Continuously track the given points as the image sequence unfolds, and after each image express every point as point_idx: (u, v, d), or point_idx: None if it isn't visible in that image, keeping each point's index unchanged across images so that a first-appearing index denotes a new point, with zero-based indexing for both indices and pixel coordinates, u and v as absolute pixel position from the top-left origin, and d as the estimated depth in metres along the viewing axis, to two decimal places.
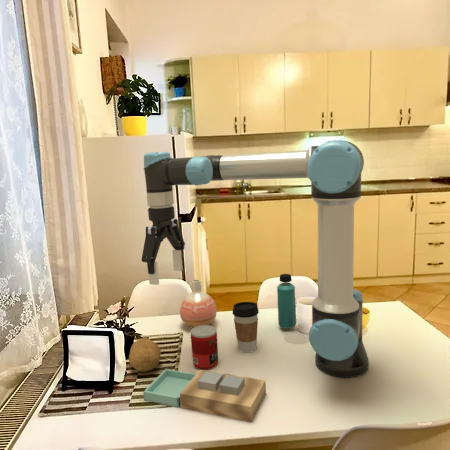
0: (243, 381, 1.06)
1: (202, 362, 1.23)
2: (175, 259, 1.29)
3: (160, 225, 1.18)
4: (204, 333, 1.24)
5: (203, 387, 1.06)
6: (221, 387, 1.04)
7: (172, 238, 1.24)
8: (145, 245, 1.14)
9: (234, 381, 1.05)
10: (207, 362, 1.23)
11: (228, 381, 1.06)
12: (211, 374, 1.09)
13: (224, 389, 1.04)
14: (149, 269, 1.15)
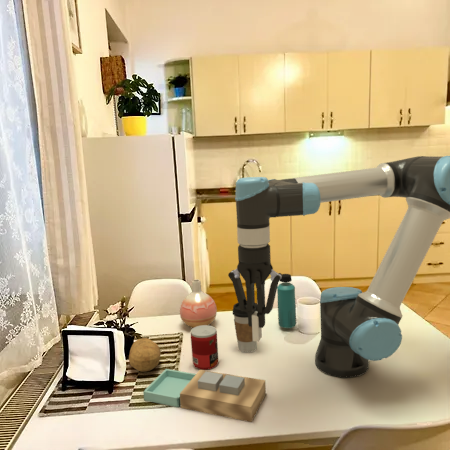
0: (243, 381, 1.06)
1: (202, 362, 1.23)
2: None
3: (239, 265, 0.98)
4: (204, 333, 1.24)
5: (203, 387, 1.06)
6: (221, 387, 1.04)
7: None
8: None
9: (234, 381, 1.05)
10: (207, 362, 1.23)
11: (228, 381, 1.06)
12: (211, 374, 1.09)
13: (224, 389, 1.04)
14: None
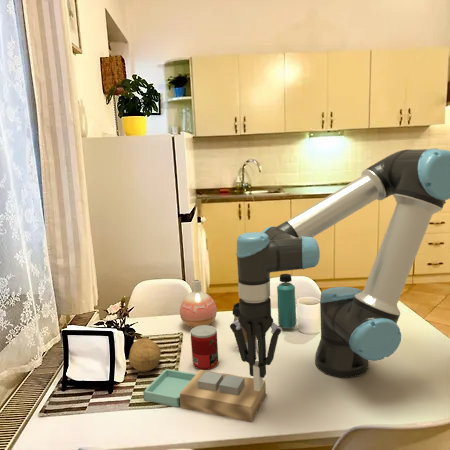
0: (243, 381, 1.06)
1: (202, 362, 1.23)
2: None
3: (241, 317, 1.00)
4: (204, 333, 1.24)
5: (203, 387, 1.06)
6: (221, 387, 1.04)
7: None
8: None
9: (234, 381, 1.05)
10: (207, 362, 1.23)
11: (228, 381, 1.06)
12: (211, 374, 1.09)
13: (224, 389, 1.04)
14: None
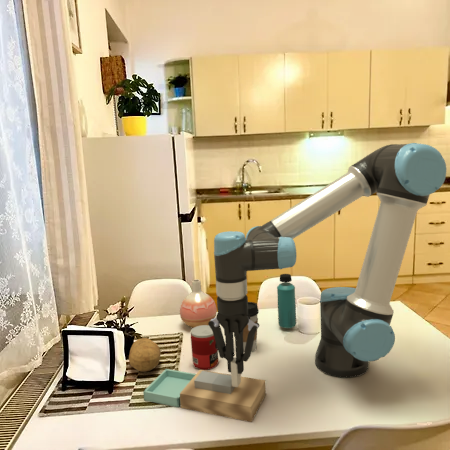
0: None
1: (202, 362, 1.23)
2: None
3: (219, 315, 1.02)
4: (204, 333, 1.24)
5: (200, 386, 1.07)
6: (214, 386, 1.05)
7: None
8: None
9: (227, 380, 1.06)
10: (207, 362, 1.23)
11: (221, 380, 1.06)
12: (208, 373, 1.10)
13: (217, 388, 1.05)
14: None
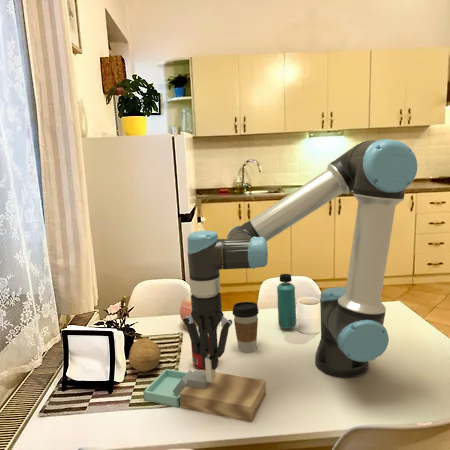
0: None
1: None
2: None
3: (193, 312, 1.05)
4: None
5: (179, 391, 1.09)
6: (189, 381, 1.08)
7: None
8: None
9: (202, 376, 1.09)
10: None
11: (196, 376, 1.09)
12: None
13: (192, 383, 1.07)
14: None
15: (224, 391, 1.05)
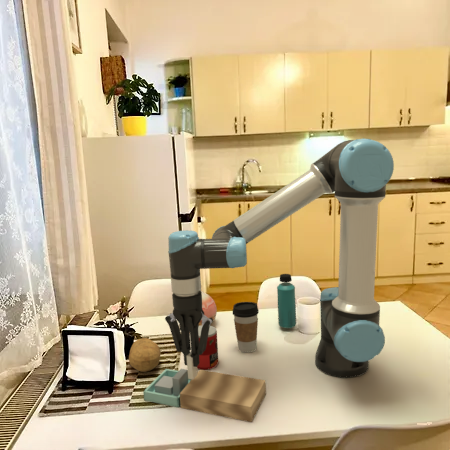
0: (181, 370, 1.13)
1: (202, 362, 1.23)
2: None
3: (174, 310, 1.07)
4: None
5: (165, 389, 1.11)
6: (175, 393, 1.10)
7: None
8: None
9: None
10: (207, 362, 1.23)
11: None
12: None
13: (176, 391, 1.10)
14: None
15: (224, 391, 1.05)
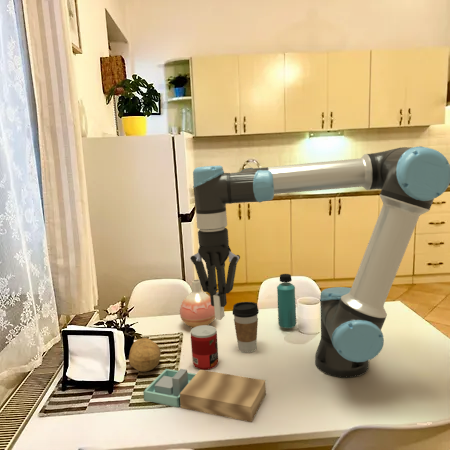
0: (181, 370, 1.13)
1: (202, 362, 1.23)
2: None
3: (200, 249, 1.04)
4: (204, 333, 1.24)
5: (165, 389, 1.11)
6: (175, 393, 1.10)
7: None
8: None
9: None
10: (207, 362, 1.23)
11: None
12: None
13: (176, 391, 1.10)
14: None
15: (224, 391, 1.05)
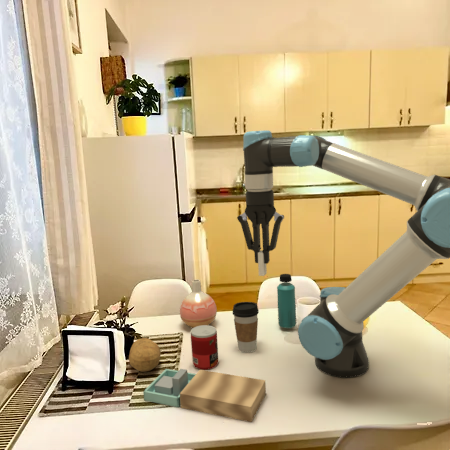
0: (181, 370, 1.13)
1: (202, 362, 1.23)
2: None
3: (247, 209, 1.12)
4: (204, 333, 1.24)
5: (165, 389, 1.11)
6: (175, 393, 1.10)
7: None
8: None
9: None
10: (207, 362, 1.23)
11: None
12: None
13: (176, 391, 1.10)
14: None
15: (224, 391, 1.05)
